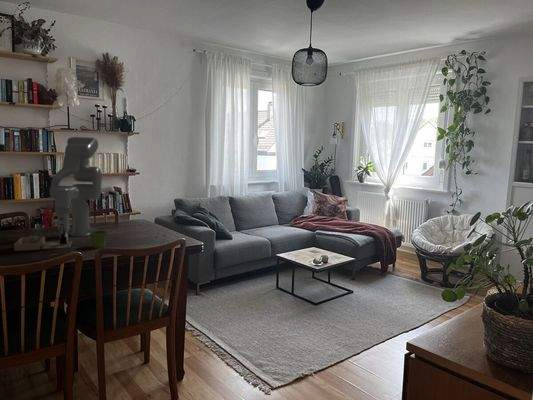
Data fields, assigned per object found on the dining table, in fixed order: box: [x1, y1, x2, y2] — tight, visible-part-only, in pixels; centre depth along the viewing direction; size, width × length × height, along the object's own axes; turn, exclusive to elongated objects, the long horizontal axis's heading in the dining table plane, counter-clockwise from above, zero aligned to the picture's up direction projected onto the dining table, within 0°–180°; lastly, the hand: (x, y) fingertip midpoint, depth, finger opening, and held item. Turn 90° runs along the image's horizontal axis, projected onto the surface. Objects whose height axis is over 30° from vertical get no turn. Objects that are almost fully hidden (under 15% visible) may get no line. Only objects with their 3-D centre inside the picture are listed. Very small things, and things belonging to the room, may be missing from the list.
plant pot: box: [89, 230, 109, 249], centre depth 221 cm, size 9×9×9 cm
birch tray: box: [40, 240, 73, 250], centre depth 221 cm, size 14×14×1 cm
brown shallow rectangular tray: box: [13, 236, 46, 252], centre depth 216 cm, size 12×16×4 cm
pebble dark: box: [28, 235, 38, 243], centre depth 216 cm, size 4×4×6 cm
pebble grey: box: [60, 233, 69, 246], centre depth 222 cm, size 4×4×6 cm
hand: (64, 242), depth 222 cm, fingers closed on pebble grey, 4 cm apart
